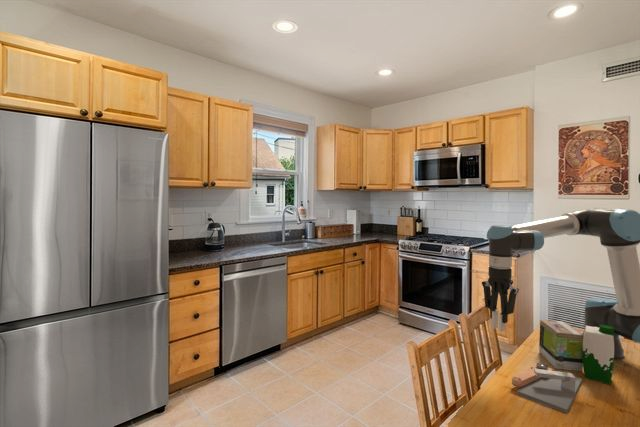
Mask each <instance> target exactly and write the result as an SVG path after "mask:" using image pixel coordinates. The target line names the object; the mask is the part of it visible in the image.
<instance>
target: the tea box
mask: <svg viewBox="0 0 640 427" xmlns="http://www.w3.org/2000/svg"><path fill="white" fill-rule="evenodd" d="M539 321H540V322H539V337H538V338H539V344H538V352H539V354H541V355H542V357H544V359H545V360H546V361H548V362H549V363H550V364H551V366H553V368H554V369H555V370H556V369H557V370H563V371H564V370H565V371H567V370H568V371H575V372H577V371H578V372H583V371H584V369H583V363H582V349H583V337H584V335H583V332H581V331H579V330H577V329H576V328H574V327H573V326H572V325H570V324H569V323H568V322H566V321H562V320H561V321H559V320H549V319H548V320H547V319H540V320H539Z"/></svg>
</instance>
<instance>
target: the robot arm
mask: <svg viewBox="0 0 640 427" xmlns="http://www.w3.org/2000/svg"><path fill="white" fill-rule="evenodd" d="M562 235H563V236H564V235H567V236H576V235H579V236H581V235H583V236H591V237H597V238H599V242H600V244H601V246H602V247H604V248H606V251H607V256H608V262H609V267H610V272H611V276H612V282H613V287H614V288H613V289H614V292H615V298H616V299H612V298H605V297H604V298H603V297H590V298H587V299H586V300H585V303H584V304H585V305H584V330H583V332H582V334H583V335H584V332H585V328H586V326H591V327H598V328H599V326H600V325H608V326H611V327H613V328H614V360H615V359H616V360H617V359H623V358H624V355H625V354H624V353H625V351H624V348H623V346H622V342H621V339H620V337H623V338H625V339H627V340H630V341H633V342H634V343H637V344H638V343H639V344H640V261H639V260H640V259H639V255H638V249H637V246H638V245H639V244H640V212H639V211H636V210H634V209H626V208H621V207H620V208H603V207H601V208H600V207H592V208H584V209H580V210H576V211H571V212H565V213H563V214H561V216H558V217H552V218H544V219H541V220H536V221H530V222H524V223H518V224H512V225H508V224H507V225H504V224H503V225H502V224H494V225H491V226H490V228H489V229H488V230H487V232H486V239H487V241H488V250H489V251H488V266H489V267H488V274H487V275H488V279H487V280H484V281H482V282H481V285H482V288H483V297H484V307H485V308H487V309H488V310H489V311H490V312H489V317H490V320H491V329H493V330H494V329H495V330H496V329H498V331H499V332H505V331H506V324H507V323H508V320H509V319H508V317H509V315H511V314H514V312H515V305H516V301H517V295H518V293H519V291H520V288H518V287H515V286H514V285H513V284H512V281H511V280H512V277H513V276H512V271H513V270H512V268H513V266H512V265H513V252H515V251H517V252H518V251H527V252H528V251H530V252H533V251H539V250H541V249H542V248H543V247H544V244H545V239H547V238H551V237H557V236H562ZM508 294H509V295H508ZM499 298H500V300H499ZM498 301H500V312H499V310H498V308H497V306H498Z"/></svg>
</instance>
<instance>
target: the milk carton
mask: <svg viewBox="0 0 640 427" xmlns="http://www.w3.org/2000/svg"><path fill="white" fill-rule="evenodd" d="M583 332H584V331H583ZM582 363H583V373H584V378H585V379H586V380H591V381H595V382H599V383H602V384H606V385H609V386H610V385H611V381H612V377H613V374H614V367H615V366H614V363H615V359H614V328H613V327H611V326H608V325H600V326H599V328H598V327H591V326H586V328H585V332H584V337H583V349H582Z"/></svg>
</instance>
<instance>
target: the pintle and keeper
mask: <svg viewBox="0 0 640 427" xmlns="http://www.w3.org/2000/svg"><path fill="white" fill-rule="evenodd" d="M535 365H536V366H537V367H538V368H540V369H534V373H535V375H536V376H537V377H544V378H551V379H559V380H561V387H562V388H563V390H564V391H567V392H575V377H574V376H575V375H574V374H573V373H572V372H565V371H560V372H558V371H559V370H556V371H550V370H544V369H548V367H549V365H548V364H546V363H544V362H536V364H535Z"/></svg>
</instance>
